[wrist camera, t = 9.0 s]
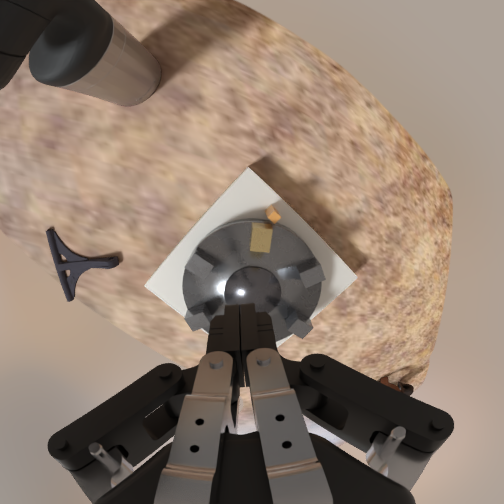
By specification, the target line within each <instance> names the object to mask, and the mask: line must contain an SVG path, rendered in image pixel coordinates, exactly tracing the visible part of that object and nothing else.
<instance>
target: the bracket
mask: <svg viewBox="0 0 504 504" xmlns="http://www.w3.org/2000/svg"><path fill="white" fill-rule="evenodd" d="M46 234H47V238H48V242H49V246H50V249H51V253H52V257H53V260H54V263H55V267H56V270H57V273H58V276H59V279H60V282H61V285H62V288H63V290H64V293H65V296H66V298H67V301H69V302H70V301H72V300H73V299H74V297H75V285H76V282H77V280H78V278H79V276H80V275H81V274H82V273H83V272H84V271H86V270H88V269H90V268H105V269H110V268H114V267H116V266H118V265H119V262H118V258H117V257H108V258H99V259H88V258H85V257H81V256H79V255H77V254H75V253H73V252H71V251H70V250H69V249H68V248H67V247H66V246H65V245H64V244H63V243H62V241H61V240H60V239H59V237H58V235H57V234H56V232H55V231H53V229H52V230H50V231H49V230H47V231H46ZM60 254H62V255H63V256H65V258H66V259H67V261H68V262H62V261H61V258H60ZM64 270H70V276H69V277H66V274H65V271H64Z"/></svg>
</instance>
